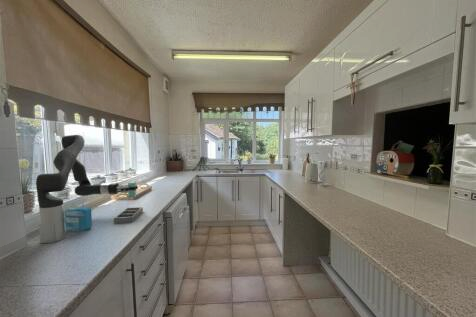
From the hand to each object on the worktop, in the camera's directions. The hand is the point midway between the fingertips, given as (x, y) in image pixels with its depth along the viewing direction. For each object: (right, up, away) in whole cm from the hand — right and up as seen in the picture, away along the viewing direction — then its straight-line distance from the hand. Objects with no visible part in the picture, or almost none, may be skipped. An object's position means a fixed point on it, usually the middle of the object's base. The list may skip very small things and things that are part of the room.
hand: (136, 187), depth 152 cm
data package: (-20, -20, -27) cm, 39 cm away
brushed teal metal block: (-3, -6, 0) cm, 7 cm away
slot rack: (-2, -18, -6) cm, 19 cm away
